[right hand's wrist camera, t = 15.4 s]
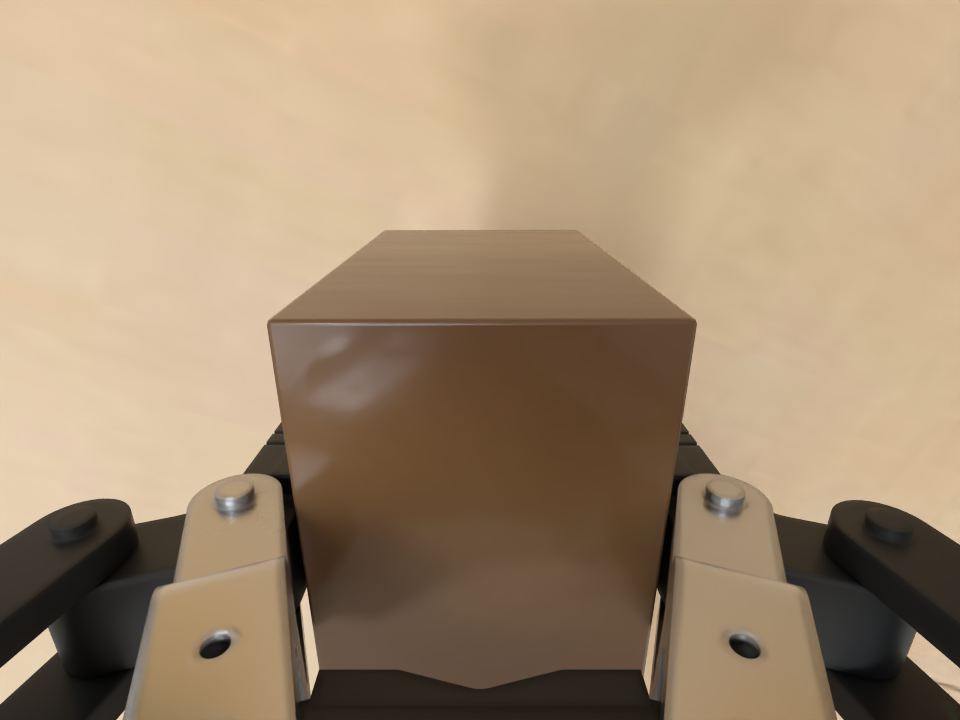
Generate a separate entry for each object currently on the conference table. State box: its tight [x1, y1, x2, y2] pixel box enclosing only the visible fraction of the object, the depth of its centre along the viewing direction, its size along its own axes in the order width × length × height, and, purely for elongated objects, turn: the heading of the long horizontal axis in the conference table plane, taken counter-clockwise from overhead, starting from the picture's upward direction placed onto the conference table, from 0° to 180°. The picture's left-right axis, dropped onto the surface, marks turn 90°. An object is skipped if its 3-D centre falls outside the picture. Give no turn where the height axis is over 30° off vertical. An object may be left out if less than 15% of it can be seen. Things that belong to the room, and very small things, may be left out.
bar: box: [267, 230, 697, 689], centre depth 14 cm, size 23×5×8 cm, turn 0°
